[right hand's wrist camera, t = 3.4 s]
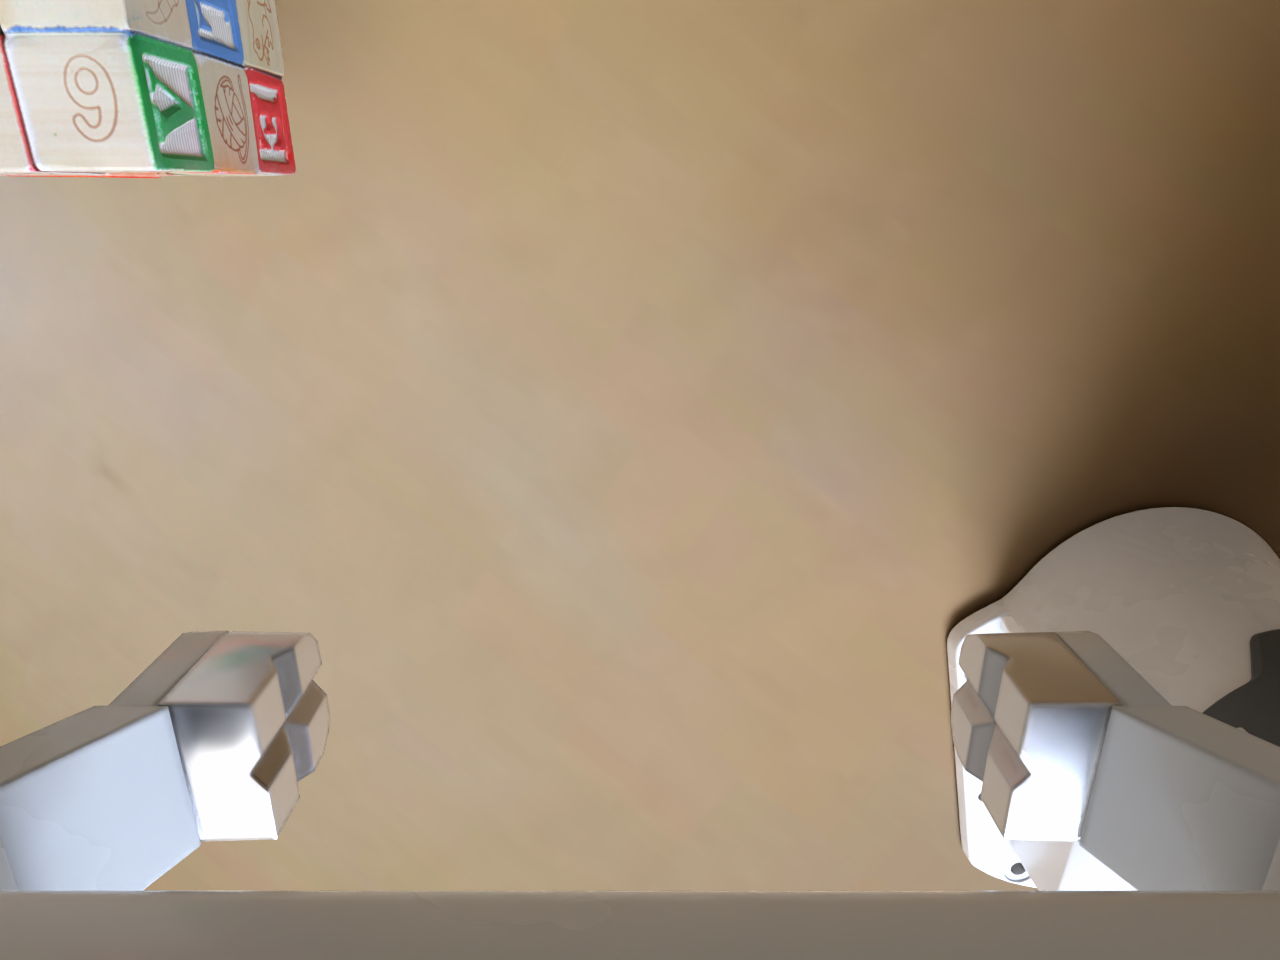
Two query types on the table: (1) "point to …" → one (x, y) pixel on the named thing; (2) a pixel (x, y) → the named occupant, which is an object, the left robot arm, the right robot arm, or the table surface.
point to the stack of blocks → (142, 89)
